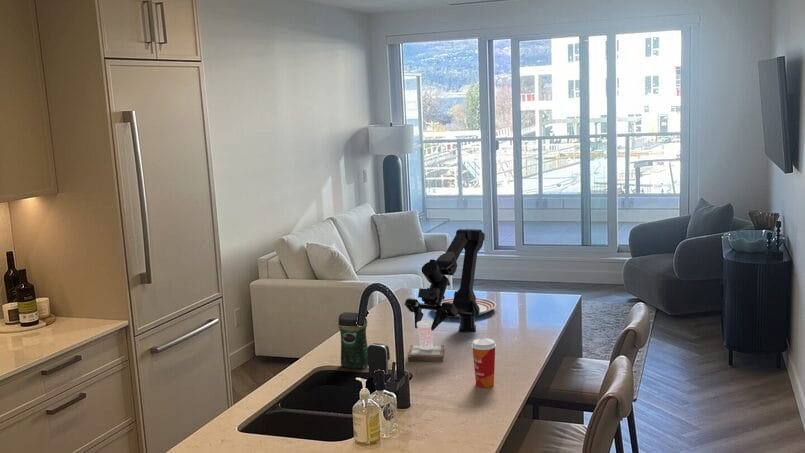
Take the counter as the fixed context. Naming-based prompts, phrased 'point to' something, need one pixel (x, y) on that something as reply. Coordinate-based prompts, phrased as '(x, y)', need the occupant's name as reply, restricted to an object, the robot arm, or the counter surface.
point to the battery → (377, 357)
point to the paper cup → (484, 362)
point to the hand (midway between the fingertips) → (423, 329)
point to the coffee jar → (352, 341)
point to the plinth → (426, 354)
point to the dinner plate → (482, 303)
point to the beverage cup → (425, 333)
